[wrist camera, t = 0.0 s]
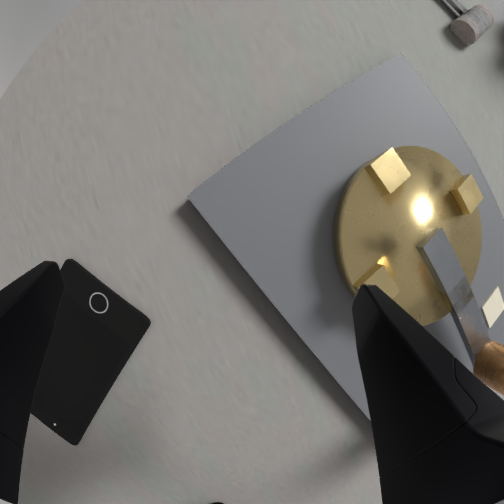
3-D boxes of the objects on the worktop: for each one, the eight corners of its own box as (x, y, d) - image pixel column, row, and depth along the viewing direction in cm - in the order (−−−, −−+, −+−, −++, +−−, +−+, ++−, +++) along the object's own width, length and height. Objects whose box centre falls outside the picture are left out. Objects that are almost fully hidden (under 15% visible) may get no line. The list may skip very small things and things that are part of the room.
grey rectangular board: (189, 198, 23) (186, 195, 21) (394, 59, 23) (402, 51, 22) (396, 451, 26) (403, 459, 24) (524, 310, 27) (533, 312, 25)
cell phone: (154, 319, 23) (151, 322, 23) (78, 443, 24) (75, 447, 23) (72, 255, 23) (66, 256, 22) (15, 391, 23) (10, 395, 22)
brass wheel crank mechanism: (295, 218, 22) (424, 195, 7) (414, 123, 22) (544, 57, 7) (427, 410, 24) (518, 490, 9) (508, 316, 24) (608, 349, 9)
